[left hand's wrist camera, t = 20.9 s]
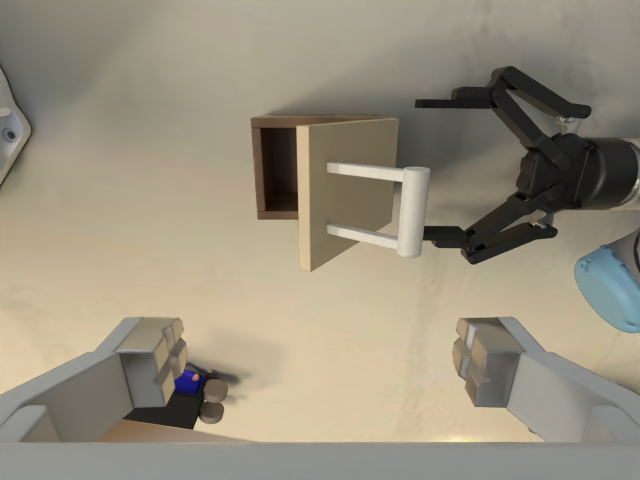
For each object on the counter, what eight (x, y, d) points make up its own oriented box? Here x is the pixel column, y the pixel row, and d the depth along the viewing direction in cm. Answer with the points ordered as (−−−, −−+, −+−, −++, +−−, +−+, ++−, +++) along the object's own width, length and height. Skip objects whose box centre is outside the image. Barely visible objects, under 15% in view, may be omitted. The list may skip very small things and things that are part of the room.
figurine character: (233, 362, 57) (134, 350, 54) (226, 400, 50) (113, 389, 47) (226, 393, 59) (131, 383, 56) (219, 433, 52) (111, 425, 49)
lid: (299, 269, 26) (403, 302, 22) (296, 125, 22) (420, 131, 18) (382, 220, 37) (462, 236, 32) (389, 118, 33) (481, 120, 29)
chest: (269, 197, 45) (257, 219, 37) (265, 114, 42) (250, 118, 33) (373, 197, 45) (386, 219, 37) (378, 114, 42) (393, 117, 33)
